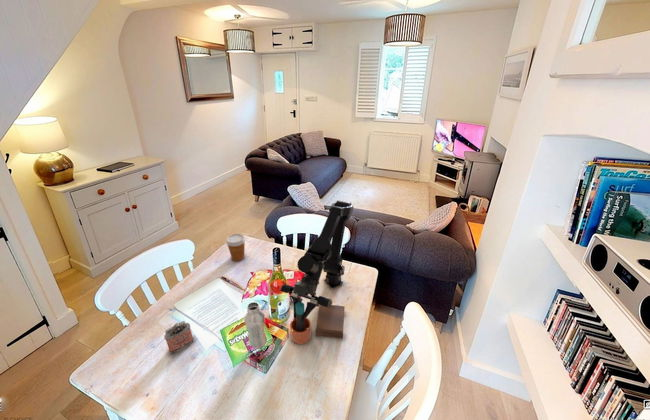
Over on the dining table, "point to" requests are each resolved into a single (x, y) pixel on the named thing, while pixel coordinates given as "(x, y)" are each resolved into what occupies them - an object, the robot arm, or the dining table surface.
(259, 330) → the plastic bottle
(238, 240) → the disposable coffee cup
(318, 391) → the dining table surface
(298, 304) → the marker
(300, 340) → the pen cup
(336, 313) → the shelf
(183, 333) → the broken red brick
